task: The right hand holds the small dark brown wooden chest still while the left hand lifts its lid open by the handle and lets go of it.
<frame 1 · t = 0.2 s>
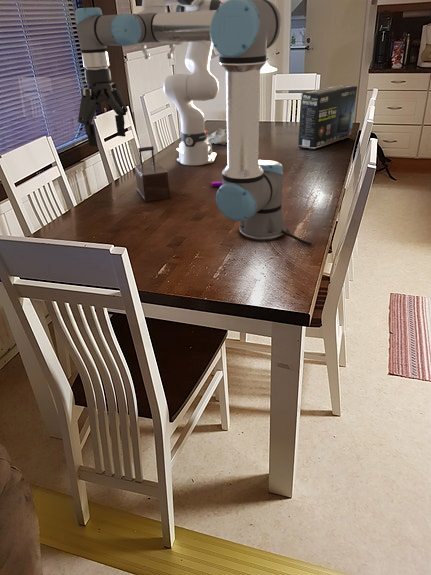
left hand: (158, 58, 174), 48 cm above the table, tool pointing down, fingers open, 8 cm apart
right hand: (108, 140, 148), 28 cm above the table, tool pointing down, fingers open, 13 cm apart
lid: (149, 160, 178), point 14 cm above the table, hinge at 0.0°
chest: (153, 194, 185), on the table
router box: (325, 143, 245), on the table
handgun: (225, 191, 185), on the table
fossil: (218, 142, 255), on the table
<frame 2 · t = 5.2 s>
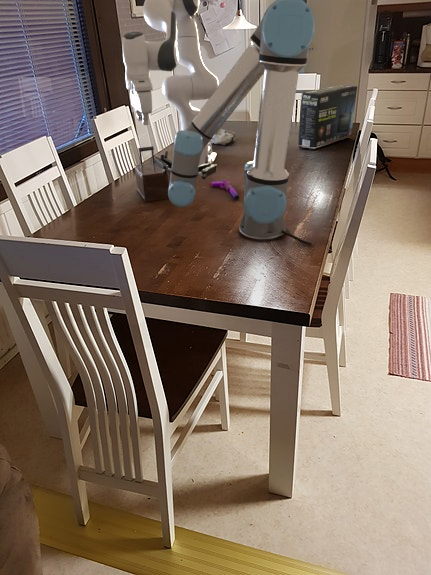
left hand: (142, 122, 175), 27 cm above the table, tool pointing down, fingers open, 8 cm apart
right hand: (186, 157, 157), 20 cm above the table, tool horizontal, fingers open, 13 cm apart
nothing on the table moved.
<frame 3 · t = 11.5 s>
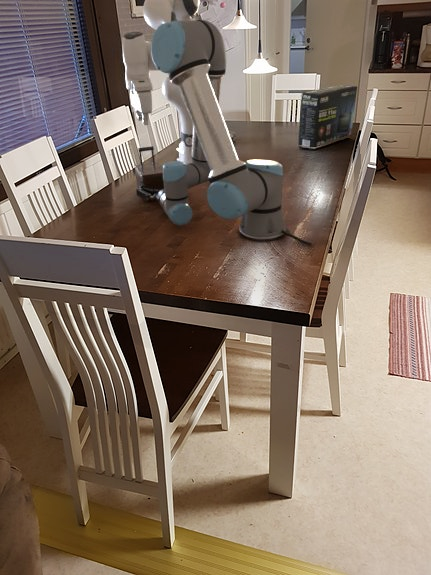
left hand: (142, 122, 175), 27 cm above the table, tool pointing down, fingers open, 8 cm apart
right hand: (154, 182, 178), 6 cm above the table, tool horizontal, fingers closed on chest, 10 cm apart
chest: (153, 194, 185), on the table, touching right hand
everything else where it was.
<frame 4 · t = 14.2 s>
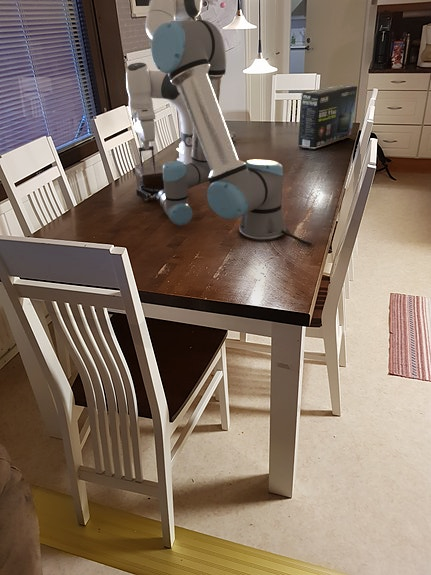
left hand: (145, 148, 180), 17 cm above the table, tool pointing down, fingers closed on lid
right hand: (154, 182, 178), 6 cm above the table, tool horizontal, fingers closed on chest, 10 cm apart
lid: (149, 160, 178), point 14 cm above the table, hinge at 0.6°, touching left hand
chest: (153, 194, 185), on the table, touching right hand
everything else where it was.
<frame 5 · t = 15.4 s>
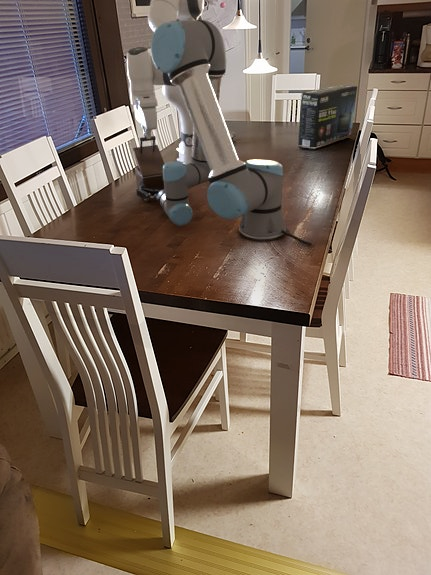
left hand: (147, 137, 172), 23 cm above the table, tool pointing down, fingers closed
right hand: (154, 182, 178), 6 cm above the table, tool horizontal, fingers closed on chest, 10 cm apart
lid: (150, 153, 174), point 17 cm above the table, hinge at 31.1°, touching left hand
chest: (153, 194, 185), on the table, touching right hand
everything else where it was.
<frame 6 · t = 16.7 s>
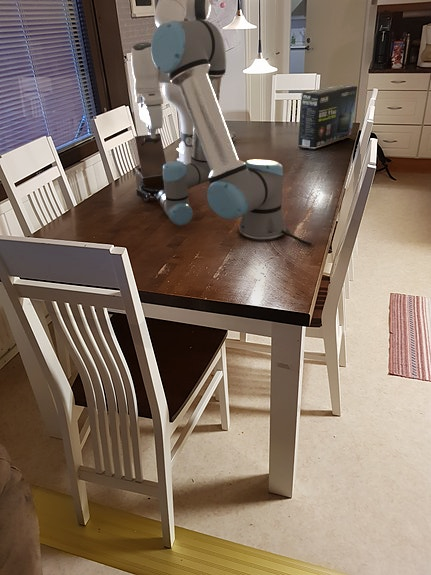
left hand: (152, 137, 165), 24 cm above the table, tool pointing down, fingers closed
right hand: (154, 182, 178), 6 cm above the table, tool horizontal, fingers closed on chest, 10 cm apart
lid: (153, 153, 169), point 18 cm above the table, hinge at 66.7°, touching left hand
chest: (153, 194, 185), on the table, touching right hand
everything else where it was.
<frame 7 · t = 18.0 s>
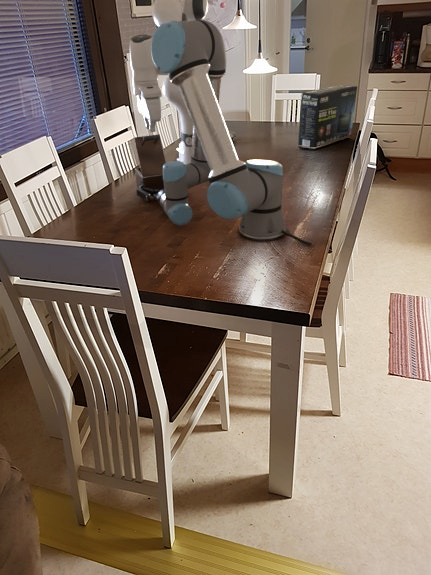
left hand: (150, 130, 165), 27 cm above the table, tool pointing down, fingers open, 4 cm apart
right hand: (154, 182, 178), 6 cm above the table, tool horizontal, fingers closed on chest, 10 cm apart
lid: (152, 152, 170), point 18 cm above the table, hinge at 60.3°
chest: (153, 194, 185), on the table, touching right hand
everything else where it was.
when the right hand's fingers open (6 cm above the table, at t = 20.9 s): chest stays where it is, on the table.
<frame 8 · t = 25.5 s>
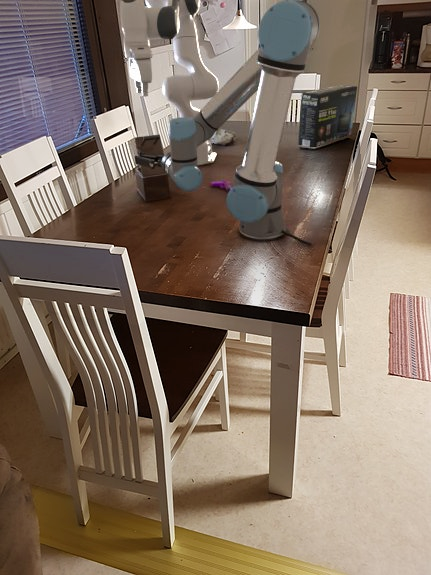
left hand: (142, 94, 165), 38 cm above the table, tool pointing down, fingers open, 8 cm apart
right hand: (158, 150, 159), 22 cm above the table, tool horizontal, fingers open, 13 cm apart
lid: (152, 152, 170), point 18 cm above the table, hinge at 59.7°
chest: (153, 194, 185), on the table
everything else where it was.
at the end: lid at +60° (first picture: +0°); the left hand is holding nothing; the right hand is holding nothing; chest tilted 0°; chest never tilted more than 1° during the clip; chest moved 0.1 cm from its start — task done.
